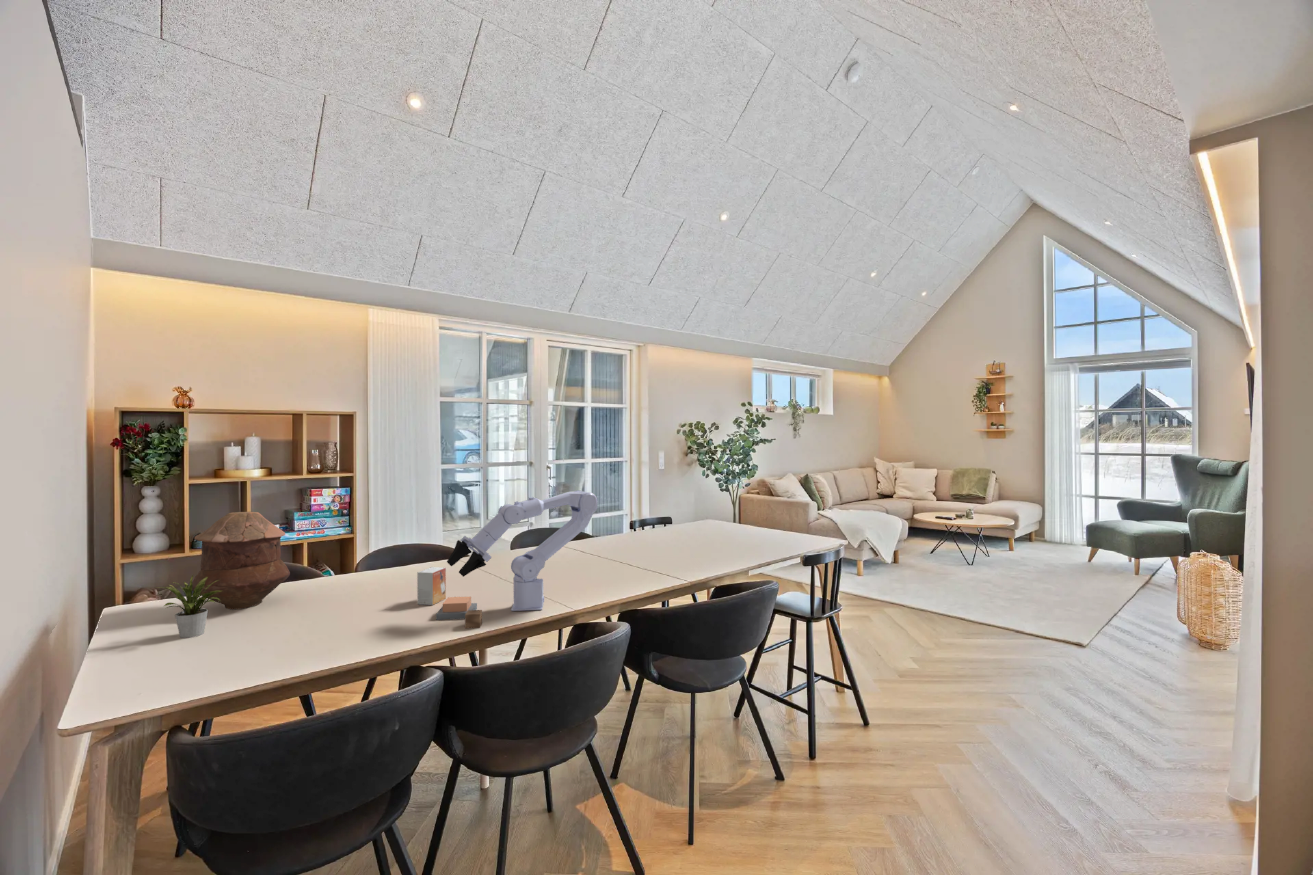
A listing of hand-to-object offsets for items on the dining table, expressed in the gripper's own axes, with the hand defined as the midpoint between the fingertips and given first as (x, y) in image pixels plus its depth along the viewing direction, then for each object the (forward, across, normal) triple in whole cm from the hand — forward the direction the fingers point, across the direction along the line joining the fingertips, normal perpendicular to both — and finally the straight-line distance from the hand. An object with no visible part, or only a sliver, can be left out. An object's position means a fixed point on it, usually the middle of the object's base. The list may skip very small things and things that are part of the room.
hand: (454, 569), depth 173 cm
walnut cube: (+8, +13, +9) cm, 18 cm away
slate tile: (+9, 0, +14) cm, 16 cm away
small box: (+11, -18, +17) cm, 28 cm away
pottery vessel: (+50, -58, -6) cm, 77 cm away
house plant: (+58, -34, -22) cm, 71 cm away
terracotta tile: (+7, -1, +12) cm, 14 cm away
